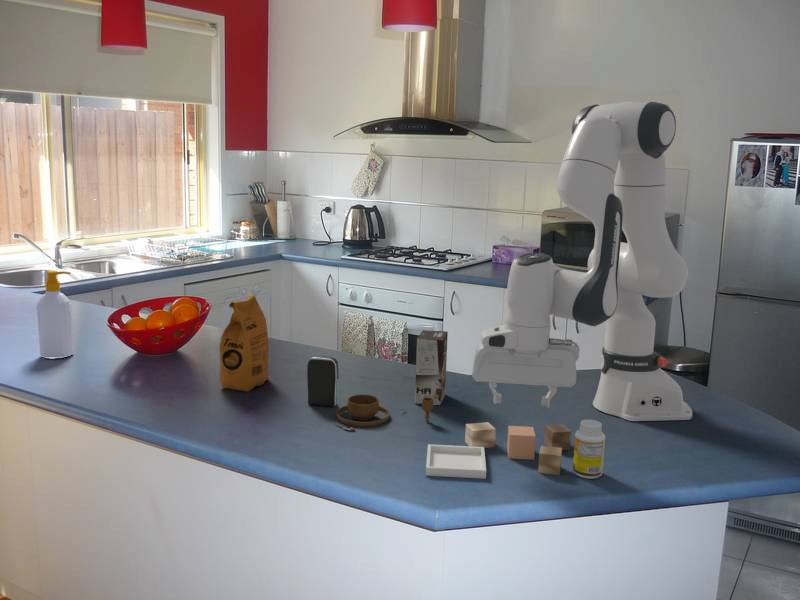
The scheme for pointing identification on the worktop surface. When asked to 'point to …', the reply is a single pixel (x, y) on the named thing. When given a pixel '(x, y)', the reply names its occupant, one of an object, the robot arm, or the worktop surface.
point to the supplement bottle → (589, 450)
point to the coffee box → (431, 366)
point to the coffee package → (244, 347)
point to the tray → (456, 461)
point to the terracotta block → (521, 442)
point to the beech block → (480, 435)
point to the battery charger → (322, 381)
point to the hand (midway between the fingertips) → (521, 404)
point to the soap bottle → (55, 320)
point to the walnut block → (558, 436)
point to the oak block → (550, 460)
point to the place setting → (372, 410)
